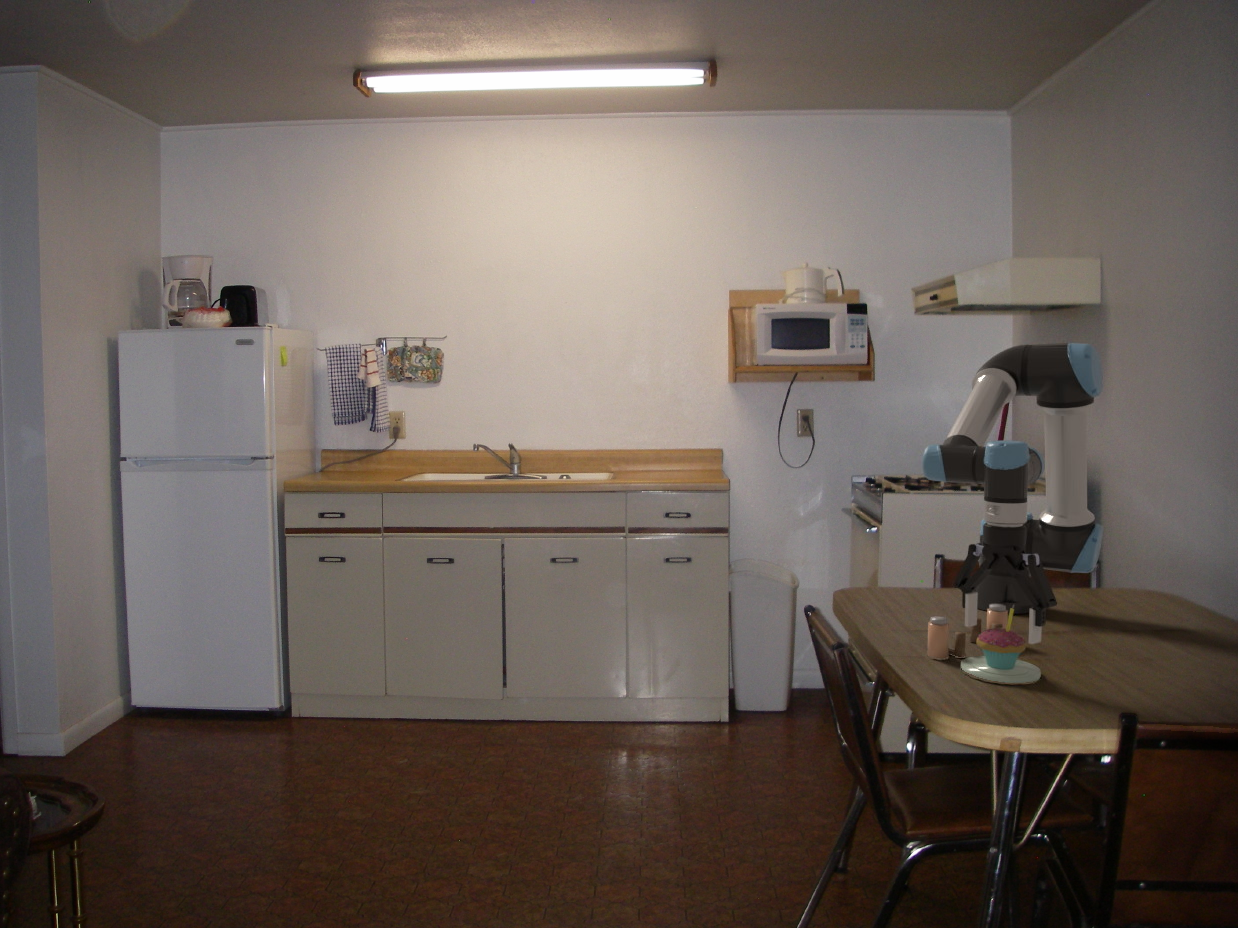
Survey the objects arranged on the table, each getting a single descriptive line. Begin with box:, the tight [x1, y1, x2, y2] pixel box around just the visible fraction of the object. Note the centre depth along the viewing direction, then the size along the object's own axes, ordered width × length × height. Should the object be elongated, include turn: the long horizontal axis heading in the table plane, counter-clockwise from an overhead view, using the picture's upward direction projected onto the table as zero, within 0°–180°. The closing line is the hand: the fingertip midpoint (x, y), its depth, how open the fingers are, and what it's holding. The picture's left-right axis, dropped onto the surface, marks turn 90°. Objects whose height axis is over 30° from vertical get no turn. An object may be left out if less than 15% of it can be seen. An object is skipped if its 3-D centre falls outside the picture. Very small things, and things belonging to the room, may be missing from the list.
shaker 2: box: [986, 604, 1009, 630], centre depth 191 cm, size 4×4×8 cm
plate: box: [960, 655, 1042, 683], centre depth 171 cm, size 14×14×1 cm
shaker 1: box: [926, 616, 950, 658], centre depth 181 cm, size 4×4×8 cm
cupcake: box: [975, 605, 1026, 669], centre depth 171 cm, size 9×8×12 cm
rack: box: [949, 617, 1003, 657], centre depth 186 cm, size 7×14×5 cm, turn 122°
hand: (1001, 633), depth 171 cm, fingers open, 13 cm apart
